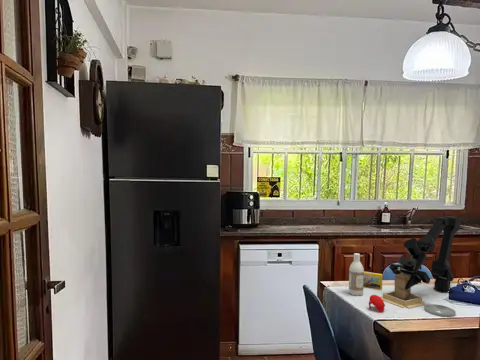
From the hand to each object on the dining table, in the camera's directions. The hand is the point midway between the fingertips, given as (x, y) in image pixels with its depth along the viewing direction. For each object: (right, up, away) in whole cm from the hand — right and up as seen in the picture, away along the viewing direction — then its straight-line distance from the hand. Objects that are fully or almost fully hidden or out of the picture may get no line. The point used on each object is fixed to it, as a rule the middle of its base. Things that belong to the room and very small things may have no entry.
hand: (400, 287), depth 168 cm
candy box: (-9, -6, +21) cm, 24 cm away
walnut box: (+1, -7, +1) cm, 7 cm away
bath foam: (-18, -6, +10) cm, 21 cm away
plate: (+12, -7, -12) cm, 18 cm away
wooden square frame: (+1, -7, +1) cm, 7 cm away
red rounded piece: (-16, -7, -11) cm, 20 cm away
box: (+16, -7, +30) cm, 34 cm away
